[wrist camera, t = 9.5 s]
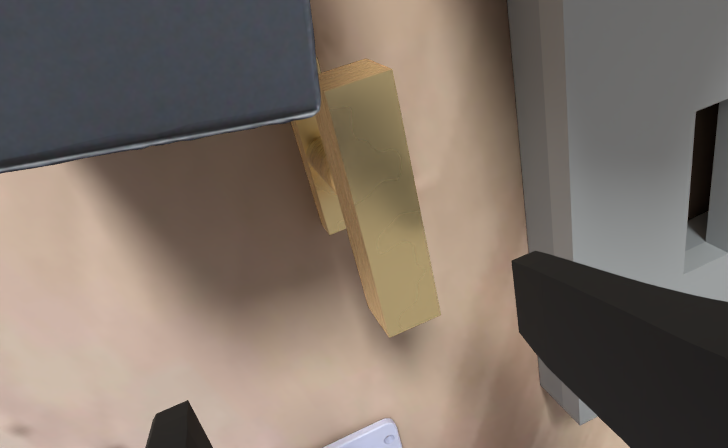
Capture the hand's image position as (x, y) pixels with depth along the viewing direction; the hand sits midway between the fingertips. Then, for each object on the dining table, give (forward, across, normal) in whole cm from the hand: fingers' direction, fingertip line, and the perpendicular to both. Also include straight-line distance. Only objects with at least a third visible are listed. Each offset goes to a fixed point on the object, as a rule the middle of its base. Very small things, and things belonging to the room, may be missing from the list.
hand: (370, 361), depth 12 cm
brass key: (+9, -2, -1) cm, 10 cm away
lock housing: (+9, -17, +5) cm, 20 cm away
